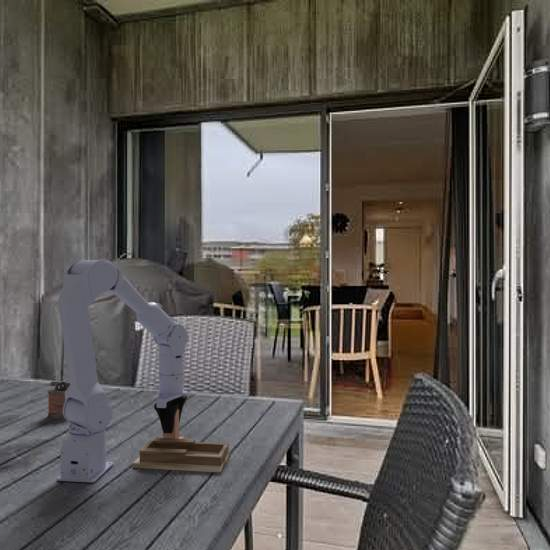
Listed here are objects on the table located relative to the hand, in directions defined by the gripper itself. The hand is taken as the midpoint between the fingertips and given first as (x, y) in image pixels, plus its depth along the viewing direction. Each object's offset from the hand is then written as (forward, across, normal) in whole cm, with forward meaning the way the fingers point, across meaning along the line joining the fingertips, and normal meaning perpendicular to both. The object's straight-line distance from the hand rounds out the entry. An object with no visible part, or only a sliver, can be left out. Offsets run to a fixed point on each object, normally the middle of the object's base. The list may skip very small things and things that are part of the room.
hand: (171, 429), depth 124 cm
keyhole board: (+3, -10, -6) cm, 12 cm away
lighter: (+4, +17, +37) cm, 41 cm away
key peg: (+3, 0, 0) cm, 3 cm away
